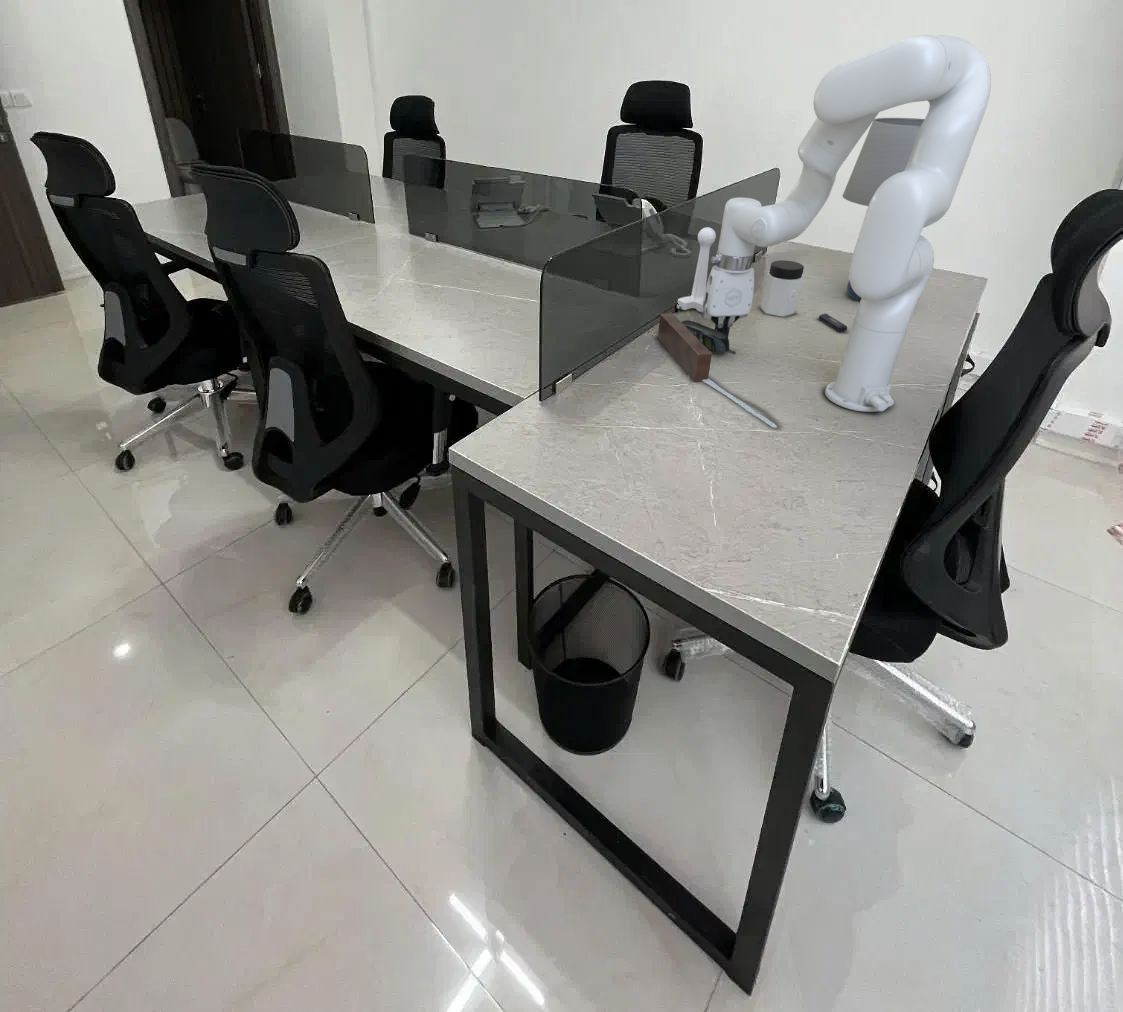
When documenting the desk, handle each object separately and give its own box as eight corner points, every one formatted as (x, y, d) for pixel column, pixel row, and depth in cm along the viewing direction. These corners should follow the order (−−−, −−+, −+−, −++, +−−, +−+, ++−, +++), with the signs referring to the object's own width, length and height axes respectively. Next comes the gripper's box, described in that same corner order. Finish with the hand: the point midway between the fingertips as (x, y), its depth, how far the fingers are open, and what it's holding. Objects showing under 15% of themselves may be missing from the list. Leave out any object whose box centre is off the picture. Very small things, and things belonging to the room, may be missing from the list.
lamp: (821, 308, 176) (869, 125, 151) (815, 280, 196) (856, 114, 171) (921, 317, 172) (988, 131, 146) (904, 288, 191) (960, 119, 166)
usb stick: (817, 319, 169) (818, 313, 168) (825, 318, 170) (827, 312, 169) (838, 332, 162) (840, 326, 161) (847, 331, 162) (849, 325, 161)
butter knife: (699, 368, 142) (688, 370, 141) (783, 426, 123) (771, 428, 122) (699, 371, 142) (688, 372, 141) (782, 428, 123) (770, 431, 122)
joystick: (709, 301, 178) (722, 224, 167) (725, 310, 173) (738, 231, 161) (674, 306, 175) (684, 227, 163) (688, 315, 169) (700, 234, 157)
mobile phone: (676, 323, 152) (728, 341, 143) (684, 316, 153) (736, 333, 144) (678, 341, 156) (729, 359, 147) (687, 334, 157) (738, 352, 147)
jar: (777, 318, 169) (788, 271, 162) (754, 309, 174) (763, 263, 167) (800, 312, 173) (812, 266, 166) (777, 303, 178) (787, 258, 171)
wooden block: (707, 380, 138) (712, 353, 135) (694, 381, 138) (698, 354, 134) (669, 337, 157) (672, 313, 153) (657, 338, 156) (660, 313, 153)
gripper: (707, 267, 137) (695, 350, 148) (773, 265, 139) (756, 346, 150) (695, 257, 143) (683, 338, 153) (758, 255, 145) (743, 334, 156)
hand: (719, 342), depth 152 cm, fingers closed
